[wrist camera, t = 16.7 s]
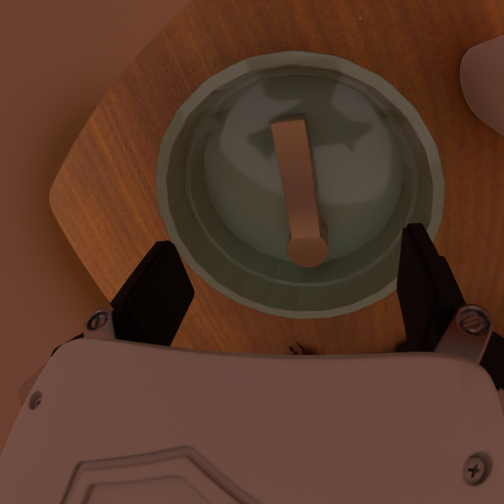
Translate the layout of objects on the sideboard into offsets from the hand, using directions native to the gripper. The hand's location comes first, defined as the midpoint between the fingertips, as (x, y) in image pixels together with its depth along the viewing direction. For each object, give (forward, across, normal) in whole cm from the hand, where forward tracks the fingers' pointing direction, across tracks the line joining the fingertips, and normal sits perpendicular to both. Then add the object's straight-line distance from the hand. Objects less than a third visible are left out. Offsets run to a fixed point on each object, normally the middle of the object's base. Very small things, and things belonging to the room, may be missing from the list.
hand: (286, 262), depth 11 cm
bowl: (+12, 0, +1) cm, 12 cm away
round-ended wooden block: (+11, 0, +1) cm, 11 cm away
